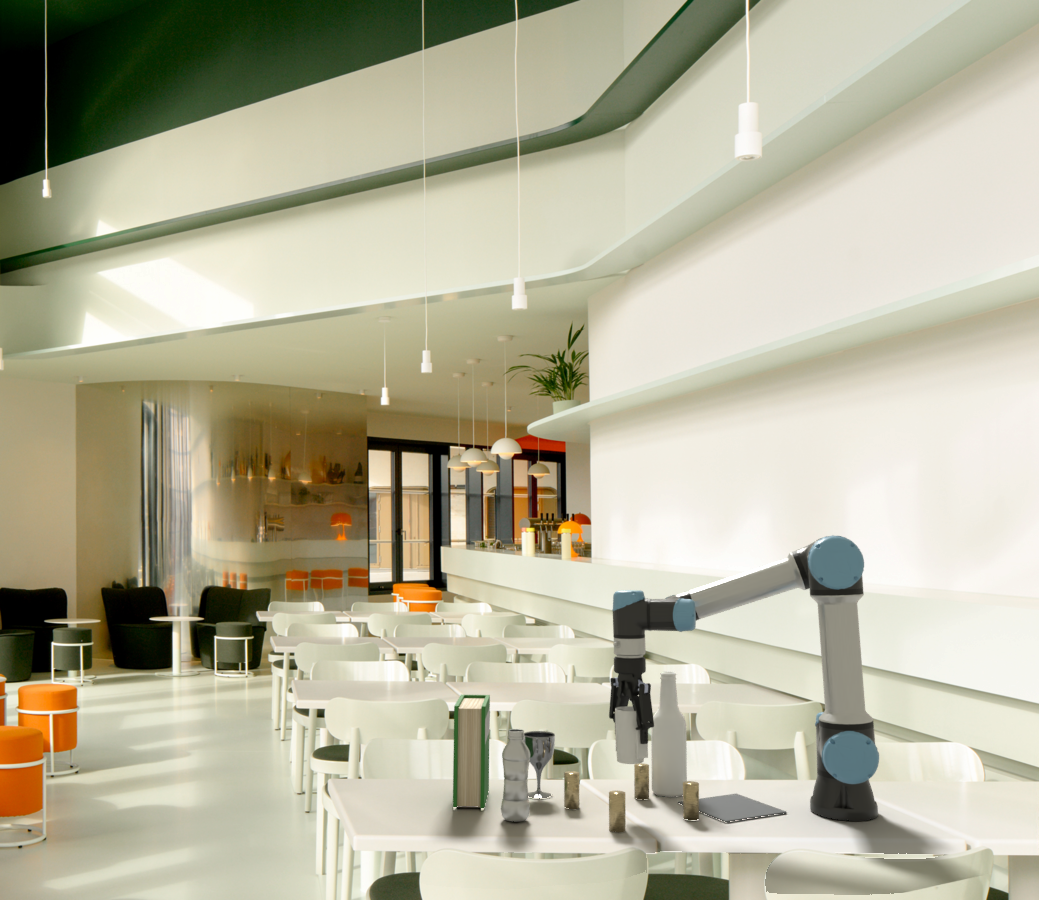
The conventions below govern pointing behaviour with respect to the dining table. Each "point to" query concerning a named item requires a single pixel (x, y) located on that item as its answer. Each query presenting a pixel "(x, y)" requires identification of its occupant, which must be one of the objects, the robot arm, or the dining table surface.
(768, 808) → the mat
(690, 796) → the spacer posts
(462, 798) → the hardback book
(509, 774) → the plastic bottle
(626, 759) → the mug
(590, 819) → the dining table surface
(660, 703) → the alcohol
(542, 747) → the wine glass
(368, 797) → the dining table surface
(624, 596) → the robot arm
